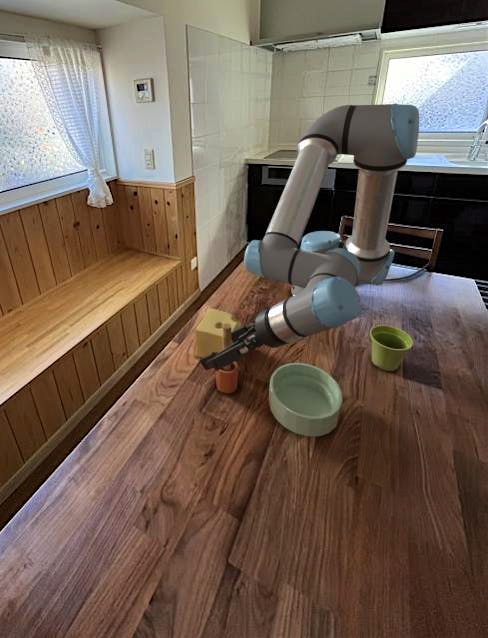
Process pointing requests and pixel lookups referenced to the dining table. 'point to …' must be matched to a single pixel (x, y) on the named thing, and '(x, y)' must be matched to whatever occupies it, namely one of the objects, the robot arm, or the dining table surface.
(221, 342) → the cheese
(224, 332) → the stick
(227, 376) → the utensil cup
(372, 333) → the plant pot
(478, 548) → the dining table surface
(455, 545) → the dining table surface
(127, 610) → the dining table surface
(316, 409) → the bowl
